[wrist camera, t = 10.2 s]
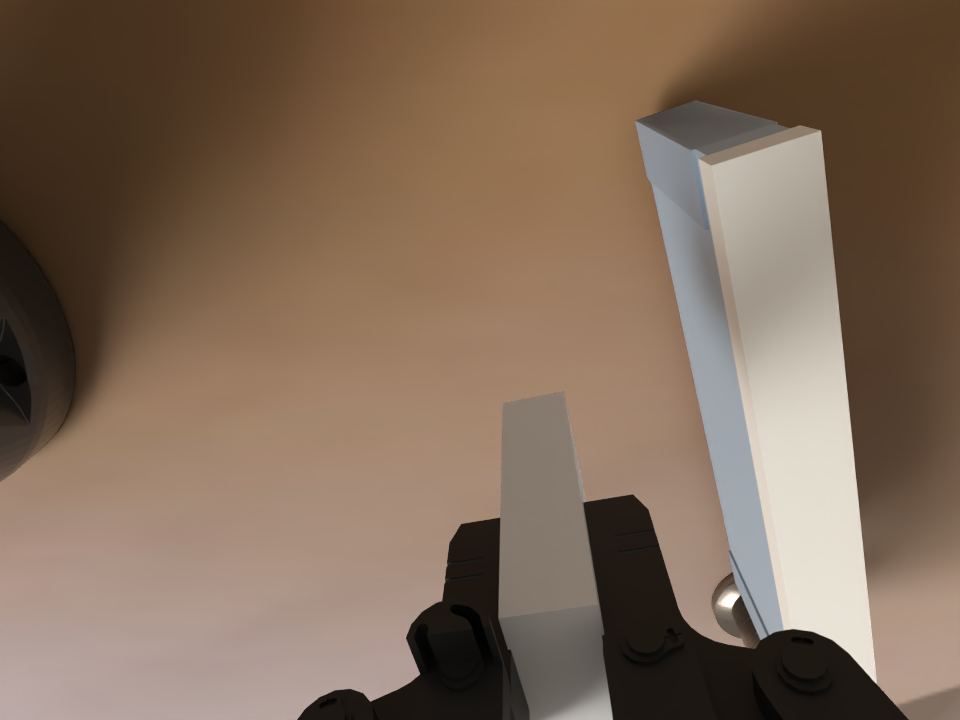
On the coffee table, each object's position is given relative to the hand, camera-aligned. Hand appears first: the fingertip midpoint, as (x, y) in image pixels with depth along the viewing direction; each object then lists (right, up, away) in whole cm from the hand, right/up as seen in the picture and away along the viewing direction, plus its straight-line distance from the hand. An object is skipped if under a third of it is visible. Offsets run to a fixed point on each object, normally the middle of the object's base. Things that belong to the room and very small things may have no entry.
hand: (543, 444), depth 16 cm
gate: (+8, +1, +10) cm, 13 cm away
